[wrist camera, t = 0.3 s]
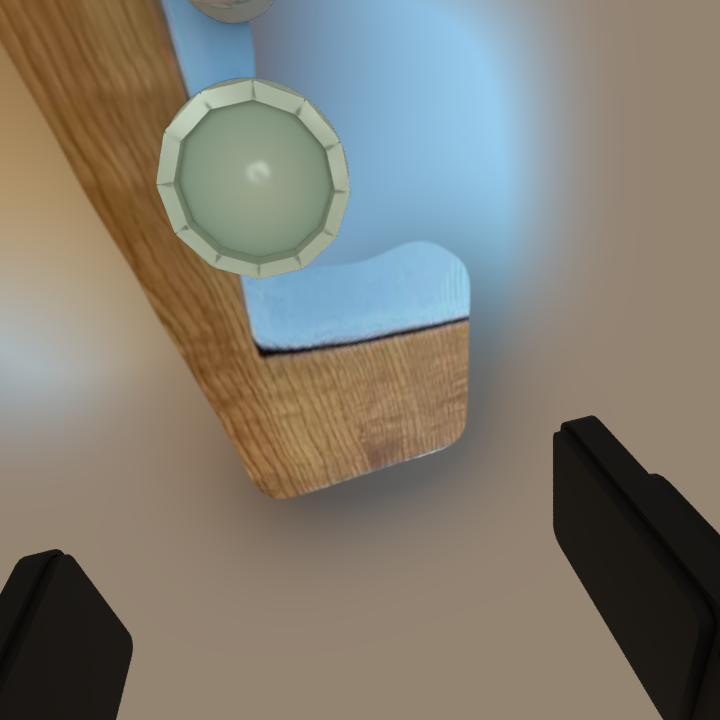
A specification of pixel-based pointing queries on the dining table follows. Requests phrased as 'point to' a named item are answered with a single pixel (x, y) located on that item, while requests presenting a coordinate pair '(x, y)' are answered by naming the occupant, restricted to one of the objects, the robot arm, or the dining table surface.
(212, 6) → the bottle
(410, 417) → the dining table surface
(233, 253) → the dish
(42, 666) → the robot arm
